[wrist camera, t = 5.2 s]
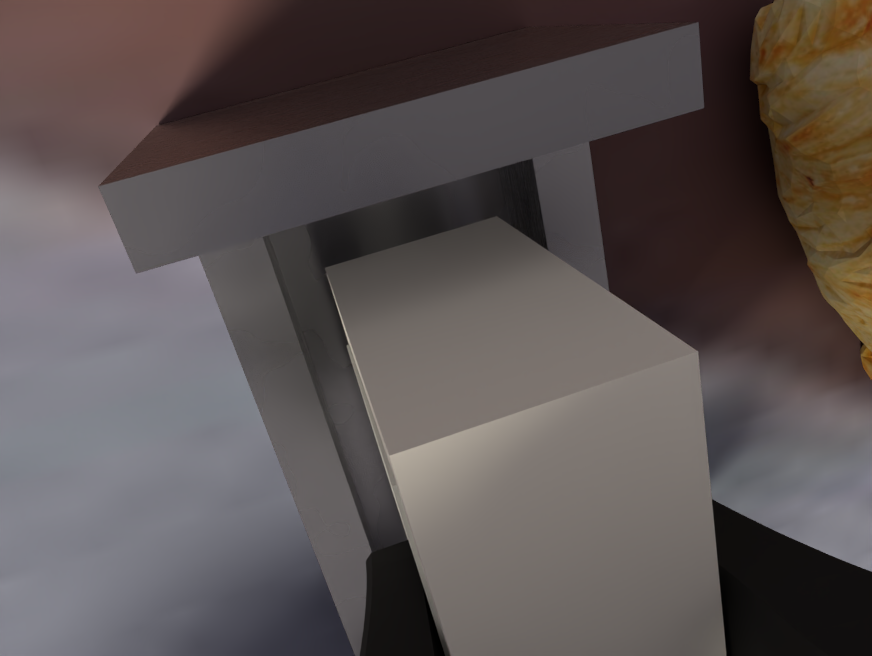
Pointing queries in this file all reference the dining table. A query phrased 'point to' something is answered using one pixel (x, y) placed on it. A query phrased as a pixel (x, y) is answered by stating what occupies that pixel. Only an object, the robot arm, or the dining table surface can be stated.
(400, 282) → the cream rectangular block
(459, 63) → the grey metal bracket
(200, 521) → the dining table surface
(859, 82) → the croissant
